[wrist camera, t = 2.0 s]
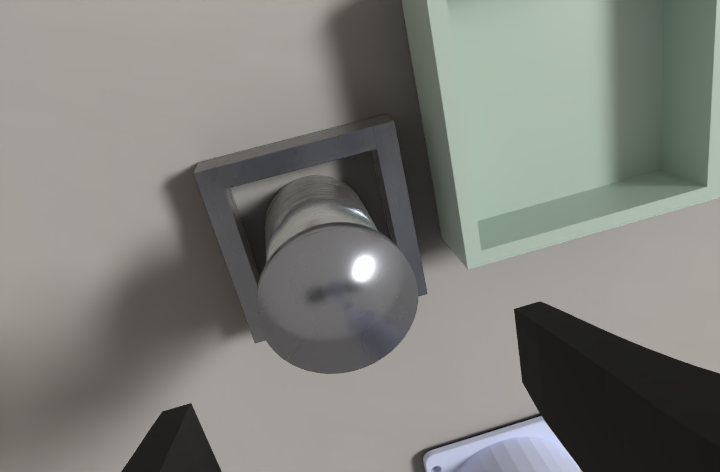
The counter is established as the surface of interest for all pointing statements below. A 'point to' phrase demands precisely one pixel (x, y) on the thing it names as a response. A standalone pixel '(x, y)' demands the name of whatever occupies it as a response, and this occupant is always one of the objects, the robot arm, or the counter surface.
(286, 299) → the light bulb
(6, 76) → the counter surface
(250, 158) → the socket collar
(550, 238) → the bin
